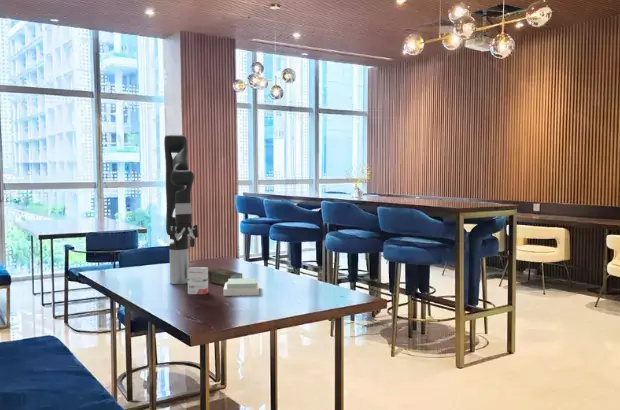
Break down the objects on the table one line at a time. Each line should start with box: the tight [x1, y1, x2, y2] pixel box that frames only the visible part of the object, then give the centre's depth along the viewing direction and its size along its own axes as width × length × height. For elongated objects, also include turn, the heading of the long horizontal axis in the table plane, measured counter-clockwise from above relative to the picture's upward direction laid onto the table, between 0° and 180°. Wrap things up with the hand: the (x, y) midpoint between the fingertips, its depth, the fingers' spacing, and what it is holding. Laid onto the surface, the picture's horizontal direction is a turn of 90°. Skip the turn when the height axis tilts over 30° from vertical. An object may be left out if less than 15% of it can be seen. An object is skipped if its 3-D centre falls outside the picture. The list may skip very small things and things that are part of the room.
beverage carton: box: [208, 268, 243, 286], centre depth 280 cm, size 8×19×7 cm, turn 45°
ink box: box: [187, 266, 209, 295], centre depth 257 cm, size 9×5×12 cm, turn 84°
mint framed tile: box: [222, 277, 260, 297], centre depth 260 cm, size 16×16×5 cm
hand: (184, 247), depth 262 cm, fingers open, 8 cm apart
